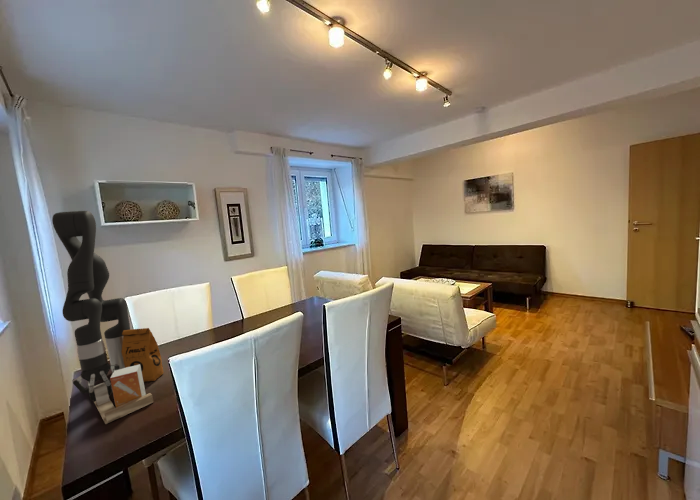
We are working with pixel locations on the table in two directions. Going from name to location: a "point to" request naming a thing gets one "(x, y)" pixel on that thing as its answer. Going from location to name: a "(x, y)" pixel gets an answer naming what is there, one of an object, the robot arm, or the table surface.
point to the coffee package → (142, 353)
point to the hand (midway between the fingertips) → (101, 397)
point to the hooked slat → (111, 412)
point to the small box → (127, 385)
